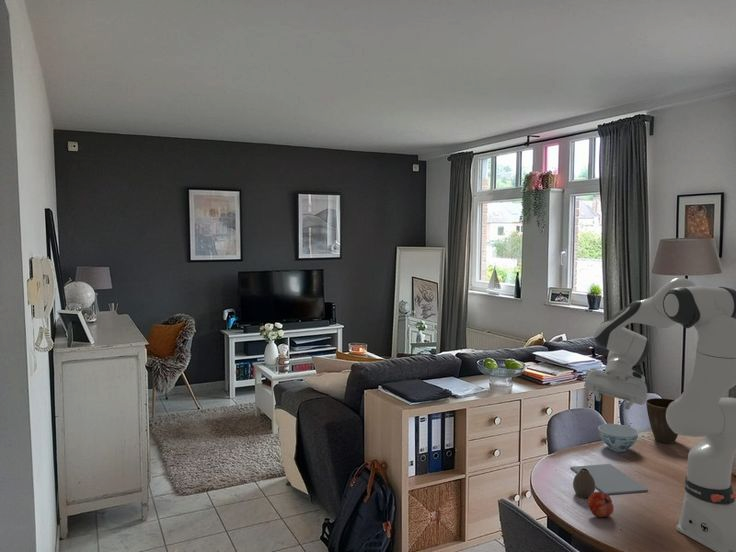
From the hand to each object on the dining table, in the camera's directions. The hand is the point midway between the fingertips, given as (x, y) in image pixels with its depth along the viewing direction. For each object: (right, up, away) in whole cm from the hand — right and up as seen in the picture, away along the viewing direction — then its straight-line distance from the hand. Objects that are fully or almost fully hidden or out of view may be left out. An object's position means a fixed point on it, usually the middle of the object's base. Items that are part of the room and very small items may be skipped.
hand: (612, 403), depth 199 cm
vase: (-12, -29, -5) cm, 32 cm away
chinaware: (+17, -26, +36) cm, 48 cm away
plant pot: (+41, -25, +46) cm, 66 cm away
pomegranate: (-12, -30, -19) cm, 38 cm away
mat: (+1, -28, +7) cm, 29 cm away
